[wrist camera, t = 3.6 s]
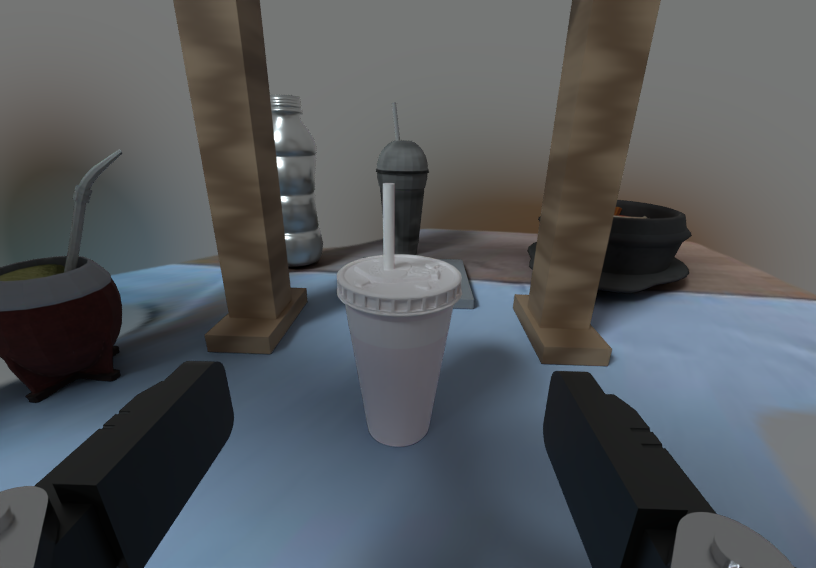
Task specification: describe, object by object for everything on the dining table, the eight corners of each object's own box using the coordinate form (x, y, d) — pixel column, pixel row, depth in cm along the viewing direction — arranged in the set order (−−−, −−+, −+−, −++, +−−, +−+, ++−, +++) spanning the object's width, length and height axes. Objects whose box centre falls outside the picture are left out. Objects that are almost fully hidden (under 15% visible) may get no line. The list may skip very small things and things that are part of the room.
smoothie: (363, 384, 26) (356, 175, 21) (456, 397, 25) (472, 179, 20) (327, 455, 20) (305, 190, 15) (446, 476, 19) (466, 197, 14)
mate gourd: (-22, 400, 24) (-146, 150, 18) (91, 339, 31) (27, 146, 26) (80, 413, 23) (-18, 154, 17) (173, 347, 30) (125, 149, 25)
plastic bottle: (262, 268, 48) (238, 93, 41) (293, 254, 54) (278, 99, 47) (306, 275, 46) (289, 92, 39) (333, 259, 52) (324, 98, 45)
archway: (189, 351, 30) (69, -172, 19) (245, 299, 39) (187, -70, 28) (627, 366, 29) (776, -179, 18) (577, 310, 38) (654, -70, 27)
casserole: (558, 240, 64) (567, 190, 61) (691, 263, 53) (710, 203, 50) (491, 280, 46) (498, 211, 43) (673, 327, 35) (700, 239, 32)
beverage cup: (429, 259, 53) (435, 101, 45) (377, 259, 52) (375, 99, 45) (422, 245, 60) (427, 105, 52) (376, 245, 59) (374, 104, 52)
